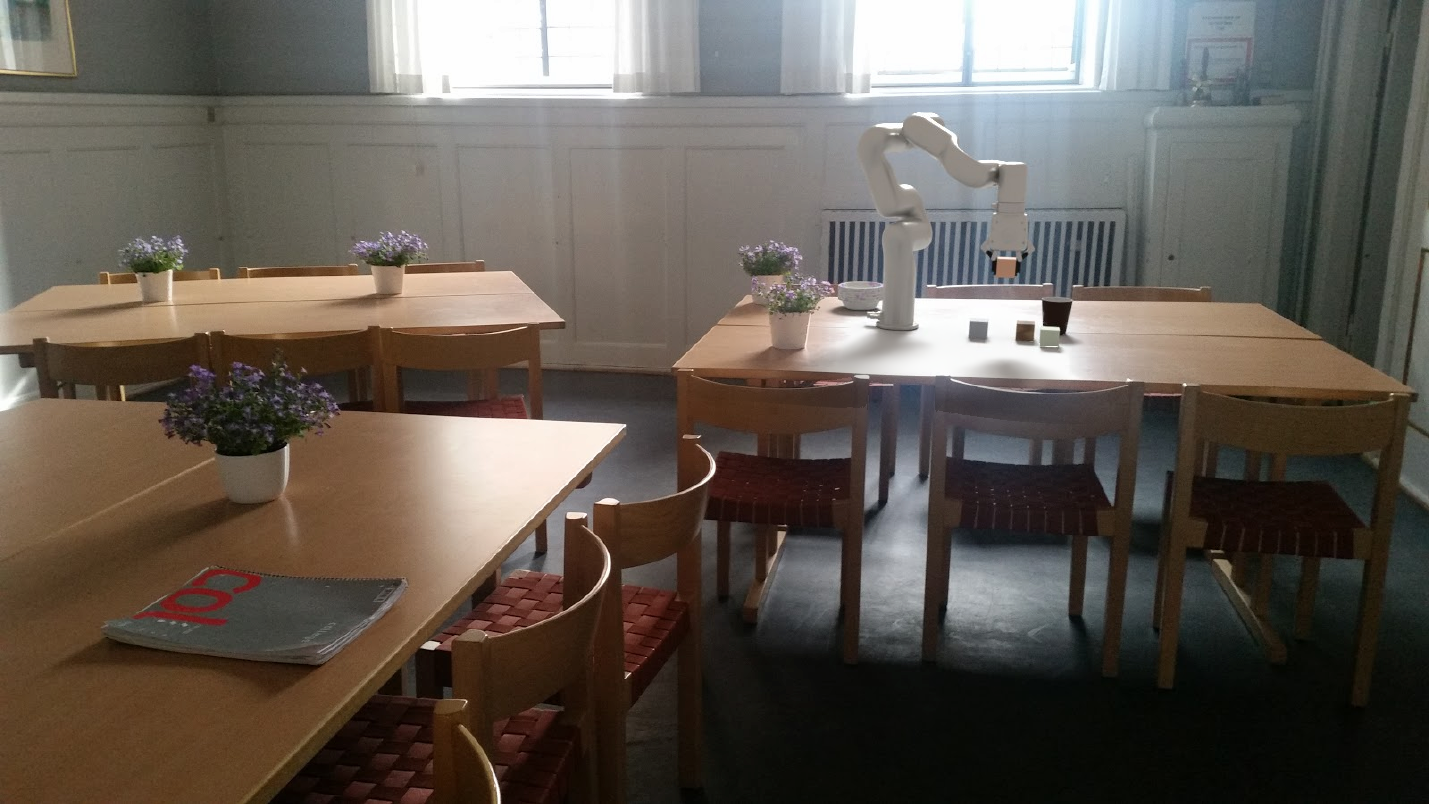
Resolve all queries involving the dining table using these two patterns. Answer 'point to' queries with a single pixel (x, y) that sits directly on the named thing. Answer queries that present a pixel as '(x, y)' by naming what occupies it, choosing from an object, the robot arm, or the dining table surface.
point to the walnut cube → (1025, 330)
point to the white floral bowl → (860, 295)
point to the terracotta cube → (1006, 267)
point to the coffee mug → (1056, 312)
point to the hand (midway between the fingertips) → (1005, 274)
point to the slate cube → (978, 328)
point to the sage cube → (1049, 336)
